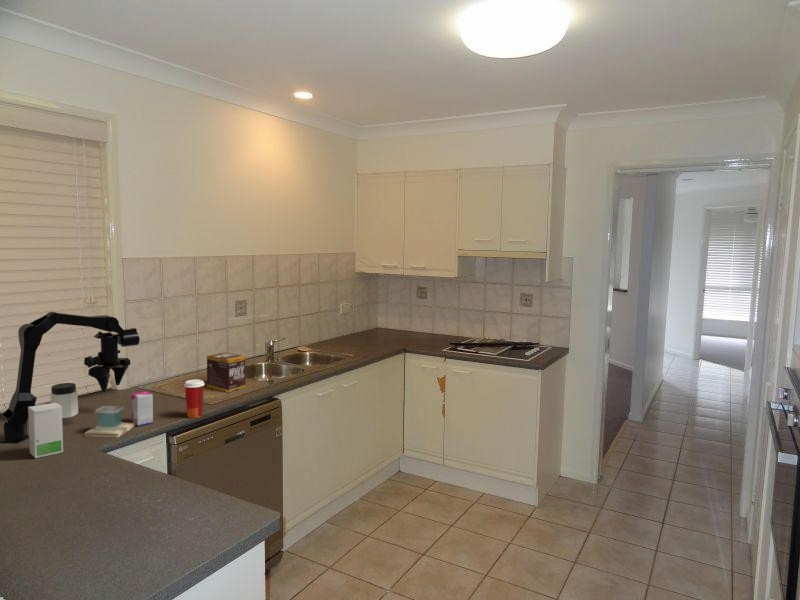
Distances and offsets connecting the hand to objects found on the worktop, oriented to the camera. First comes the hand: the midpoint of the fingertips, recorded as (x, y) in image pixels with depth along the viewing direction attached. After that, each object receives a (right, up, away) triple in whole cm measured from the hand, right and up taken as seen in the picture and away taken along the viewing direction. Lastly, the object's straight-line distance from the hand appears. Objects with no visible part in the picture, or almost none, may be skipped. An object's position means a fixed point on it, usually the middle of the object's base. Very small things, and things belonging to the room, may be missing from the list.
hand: (111, 388), depth 208 cm
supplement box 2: (+29, -8, +47) cm, 56 cm away
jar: (-20, -11, +4) cm, 24 cm away
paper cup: (+30, -12, +6) cm, 33 cm away
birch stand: (+6, -14, -12) cm, 19 cm away
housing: (+6, -12, -12) cm, 18 cm away
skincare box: (-4, -16, -32) cm, 36 cm away
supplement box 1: (+14, -13, -3) cm, 19 cm away
